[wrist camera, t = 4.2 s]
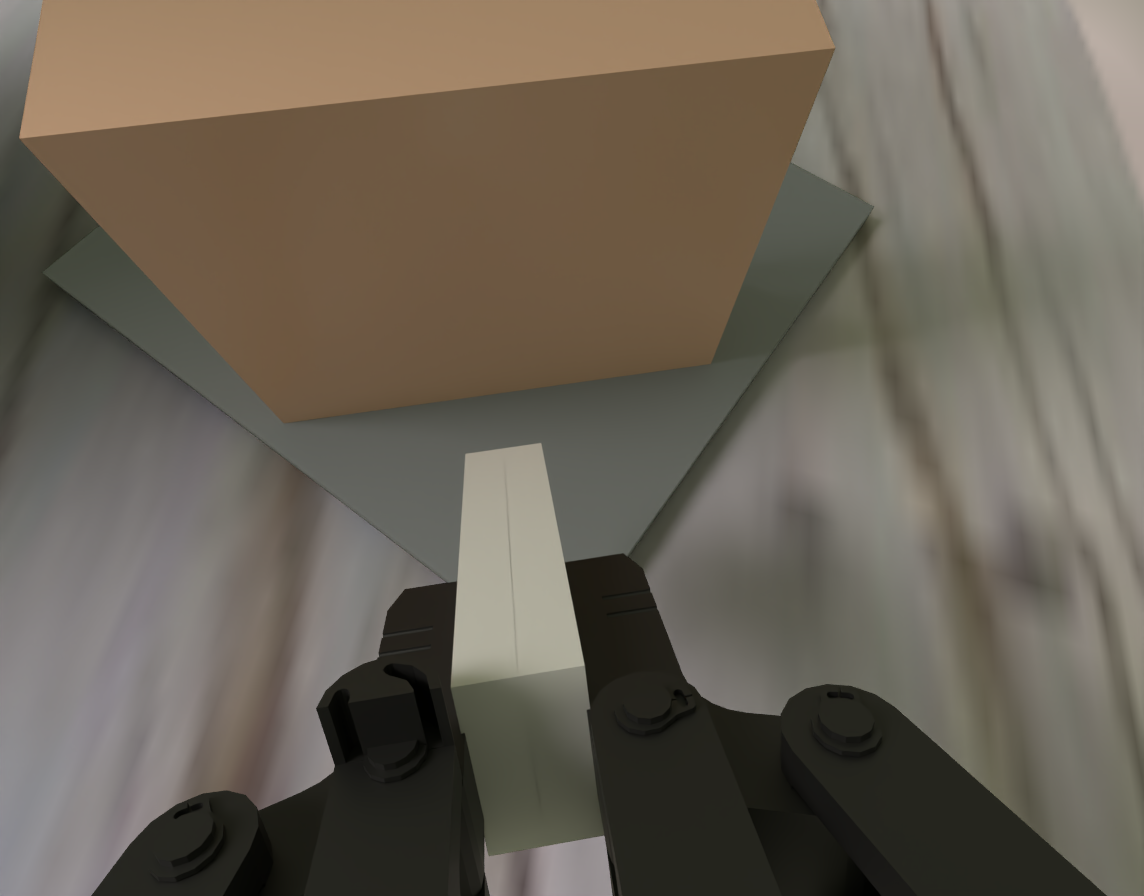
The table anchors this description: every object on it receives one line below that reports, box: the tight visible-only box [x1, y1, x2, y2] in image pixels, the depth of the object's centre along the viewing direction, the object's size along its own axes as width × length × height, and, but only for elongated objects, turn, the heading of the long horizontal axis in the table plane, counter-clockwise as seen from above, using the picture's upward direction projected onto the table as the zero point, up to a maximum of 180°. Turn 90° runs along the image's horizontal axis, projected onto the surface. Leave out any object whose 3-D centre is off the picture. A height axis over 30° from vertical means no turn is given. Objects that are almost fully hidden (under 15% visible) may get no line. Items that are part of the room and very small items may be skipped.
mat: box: [42, 163, 874, 583], centre depth 22 cm, size 19×17×1 cm
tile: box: [19, 0, 835, 423], centre depth 16 cm, size 3×12×10 cm, turn 99°
